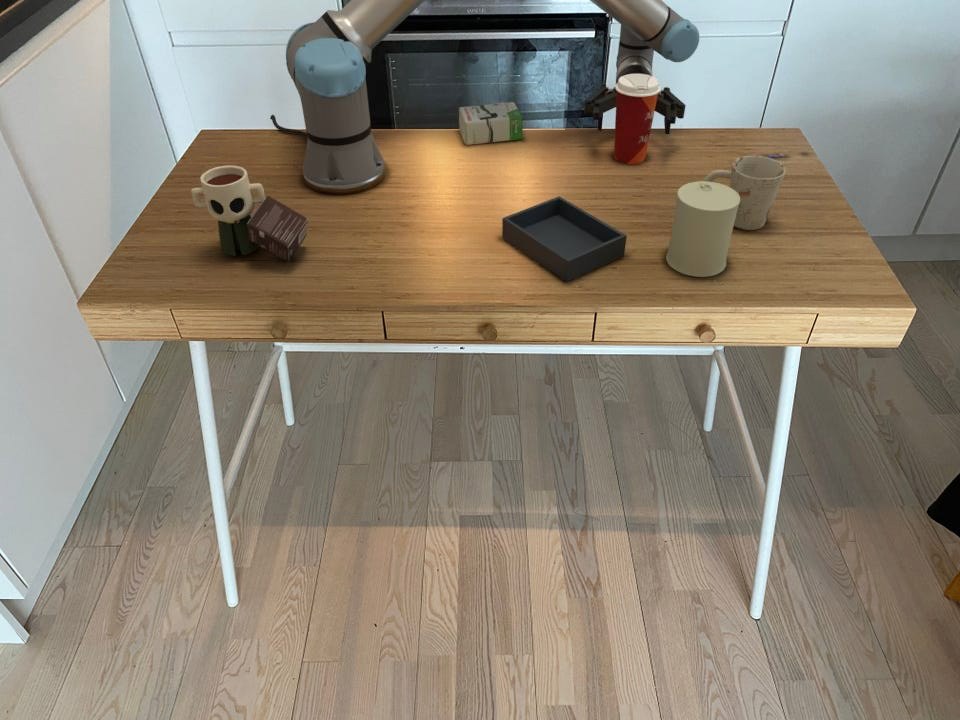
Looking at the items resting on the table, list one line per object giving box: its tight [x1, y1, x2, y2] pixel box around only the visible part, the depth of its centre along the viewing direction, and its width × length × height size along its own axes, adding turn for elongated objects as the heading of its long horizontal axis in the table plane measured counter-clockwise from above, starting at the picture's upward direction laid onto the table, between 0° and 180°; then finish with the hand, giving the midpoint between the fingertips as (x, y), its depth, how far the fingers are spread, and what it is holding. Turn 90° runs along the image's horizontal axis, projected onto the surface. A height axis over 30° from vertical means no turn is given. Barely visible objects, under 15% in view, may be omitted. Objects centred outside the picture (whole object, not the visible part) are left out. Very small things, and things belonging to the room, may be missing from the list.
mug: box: [702, 155, 787, 231], centre depth 128 cm, size 8×13×10 cm, turn 70°
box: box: [247, 195, 309, 263], centre depth 121 cm, size 6×6×7 cm
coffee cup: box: [613, 74, 662, 165], centre depth 146 cm, size 8×8×15 cm
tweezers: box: [767, 153, 785, 159], centre depth 149 cm, size 2×12×1 cm, turn 103°
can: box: [665, 180, 740, 278], centre depth 118 cm, size 9×9×12 cm
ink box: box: [458, 101, 524, 146], centre depth 158 cm, size 9×5×12 cm
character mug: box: [190, 164, 266, 257], centre depth 122 cm, size 11×7×13 cm, turn 98°
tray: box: [501, 195, 627, 283], centre depth 124 cm, size 16×12×4 cm
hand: (634, 125), depth 143 cm, fingers open, 12 cm apart
